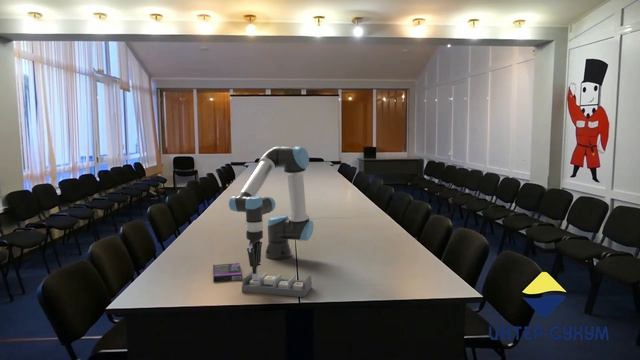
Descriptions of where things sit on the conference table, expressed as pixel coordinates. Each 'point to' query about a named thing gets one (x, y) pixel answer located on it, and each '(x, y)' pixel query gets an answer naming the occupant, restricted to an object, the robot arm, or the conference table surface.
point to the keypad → (276, 286)
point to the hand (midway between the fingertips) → (255, 279)
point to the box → (227, 272)
